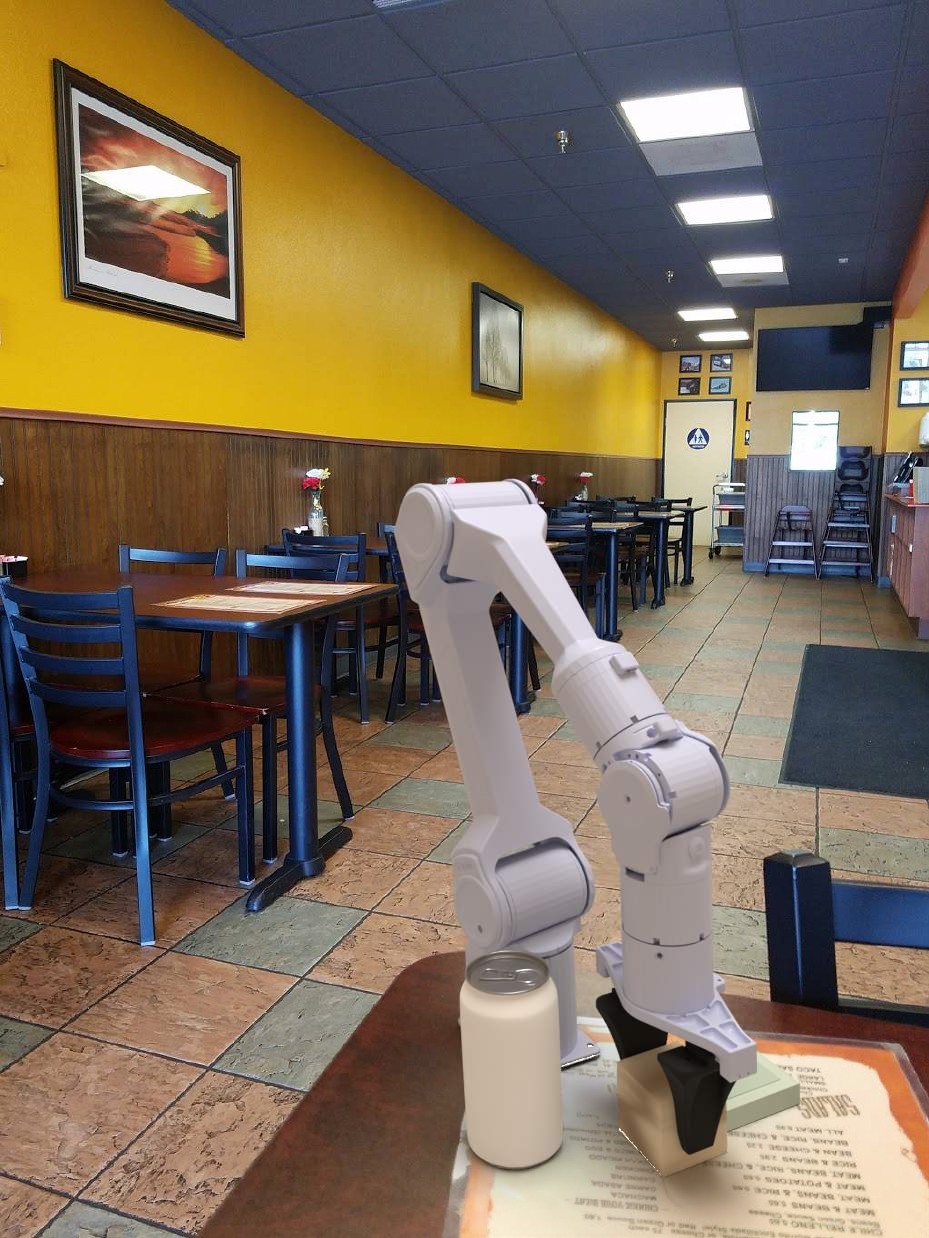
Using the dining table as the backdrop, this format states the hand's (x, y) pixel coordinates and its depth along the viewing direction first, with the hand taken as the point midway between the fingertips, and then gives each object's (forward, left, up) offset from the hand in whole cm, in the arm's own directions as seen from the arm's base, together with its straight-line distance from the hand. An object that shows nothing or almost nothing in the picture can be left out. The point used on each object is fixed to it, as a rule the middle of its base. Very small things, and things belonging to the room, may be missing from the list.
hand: (671, 1121), depth 63 cm
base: (-3, +6, -1) cm, 7 cm away
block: (0, 0, -1) cm, 1 cm away
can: (-5, -9, -2) cm, 10 cm away
